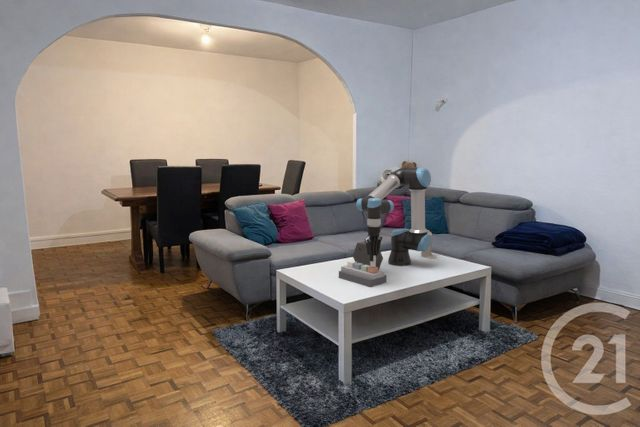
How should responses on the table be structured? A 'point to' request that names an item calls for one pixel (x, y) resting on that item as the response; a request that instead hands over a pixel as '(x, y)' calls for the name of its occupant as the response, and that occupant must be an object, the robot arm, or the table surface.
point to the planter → (365, 255)
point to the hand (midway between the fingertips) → (372, 266)
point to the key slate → (358, 266)
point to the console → (362, 276)
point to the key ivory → (351, 264)
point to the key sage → (365, 267)
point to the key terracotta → (373, 270)
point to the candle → (428, 252)
